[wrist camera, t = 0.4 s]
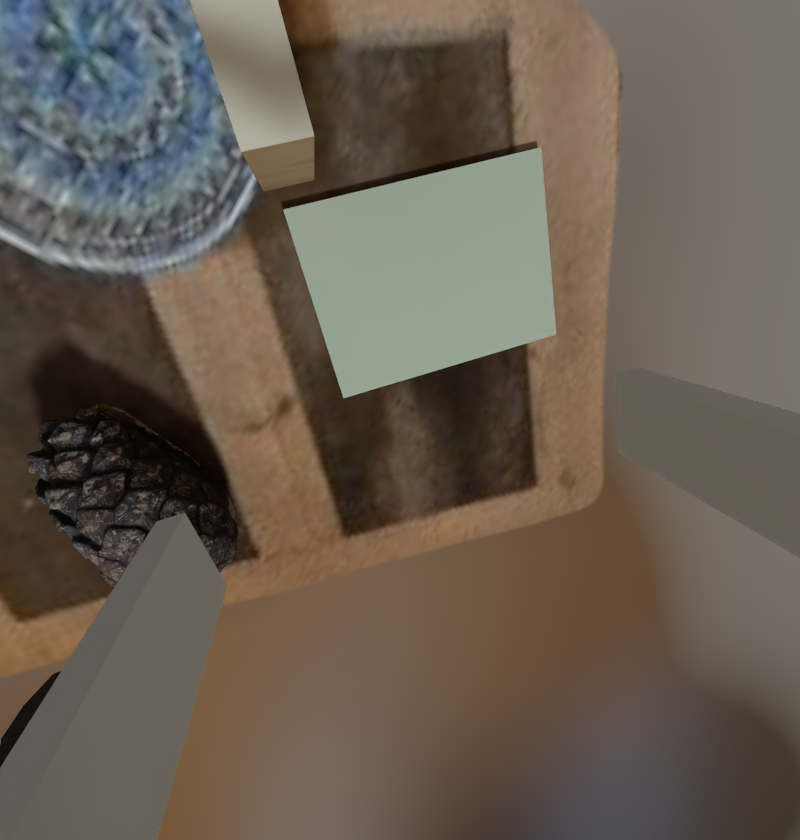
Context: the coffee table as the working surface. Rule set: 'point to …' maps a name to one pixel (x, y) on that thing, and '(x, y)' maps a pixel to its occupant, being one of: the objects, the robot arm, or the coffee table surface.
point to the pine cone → (125, 488)
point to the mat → (429, 269)
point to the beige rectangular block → (259, 87)
